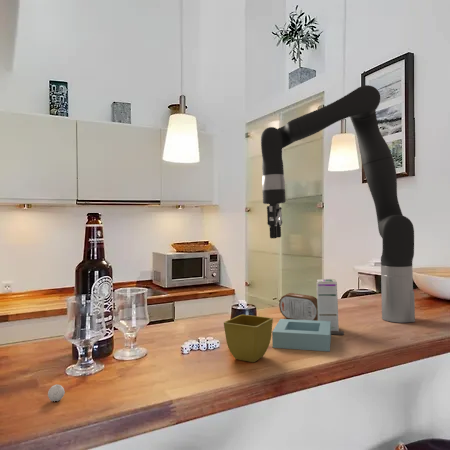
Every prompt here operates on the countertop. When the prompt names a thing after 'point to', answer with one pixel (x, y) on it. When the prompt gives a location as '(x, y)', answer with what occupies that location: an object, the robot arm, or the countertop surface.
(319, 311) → the syrup box
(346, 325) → the countertop surface
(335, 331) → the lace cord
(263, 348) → the flower pot
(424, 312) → the countertop surface
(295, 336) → the teal square holder
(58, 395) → the grey ball
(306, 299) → the tin
